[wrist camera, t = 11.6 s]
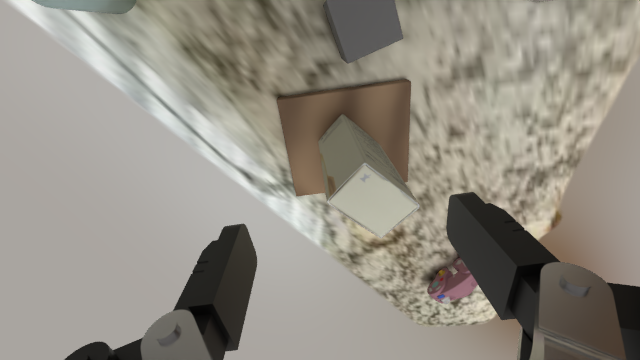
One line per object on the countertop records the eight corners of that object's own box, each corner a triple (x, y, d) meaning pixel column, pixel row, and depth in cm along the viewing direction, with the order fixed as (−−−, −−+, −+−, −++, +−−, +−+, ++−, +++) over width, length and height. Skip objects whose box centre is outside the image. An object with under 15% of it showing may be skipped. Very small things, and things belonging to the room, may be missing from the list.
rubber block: (373, -20, 25) (387, -31, 20) (388, 37, 27) (403, 38, 23) (323, 5, 26) (326, 0, 21) (341, 58, 28) (347, 63, 23)
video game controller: (469, 239, 43) (480, 259, 36) (491, 260, 42) (506, 284, 36) (420, 273, 46) (422, 297, 39) (440, 293, 46) (445, 321, 39)
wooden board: (406, 79, 29) (410, 81, 28) (403, 176, 35) (407, 181, 33) (278, 97, 29) (276, 100, 28) (296, 190, 35) (296, 196, 34)
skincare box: (316, 141, 30) (320, 201, 20) (342, 111, 29) (361, 159, 18) (357, 172, 33) (381, 242, 22) (383, 146, 31) (422, 207, 20)
